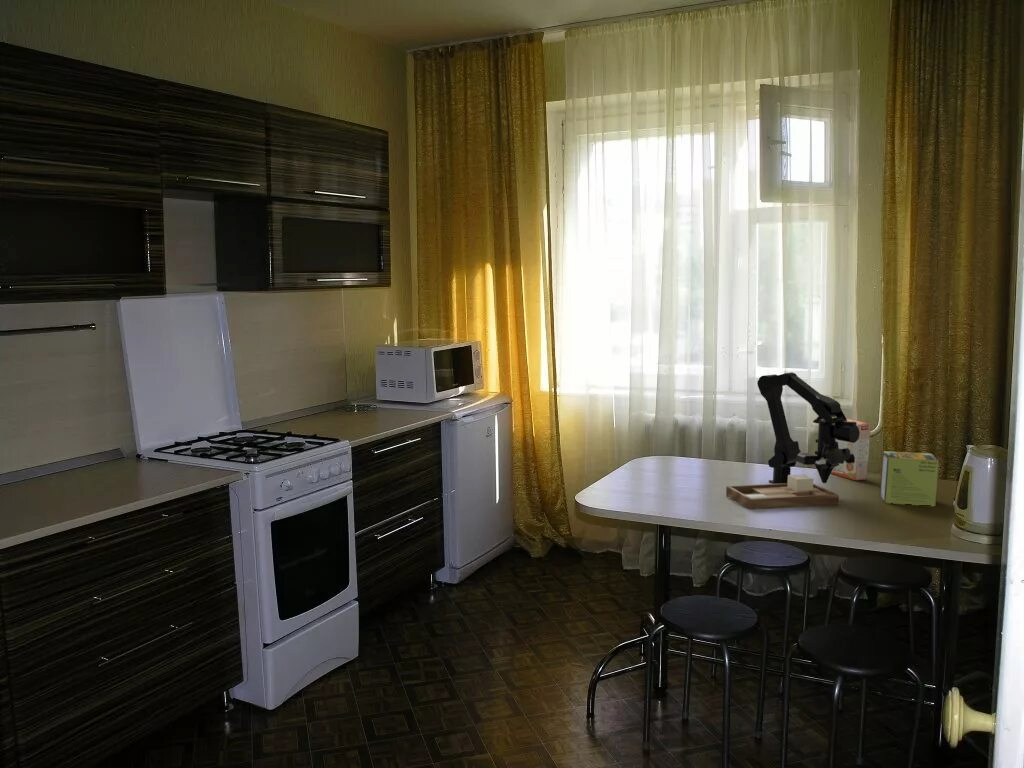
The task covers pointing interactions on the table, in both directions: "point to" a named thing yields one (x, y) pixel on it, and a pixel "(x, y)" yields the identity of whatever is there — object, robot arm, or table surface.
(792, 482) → the cream block
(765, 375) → the robot arm
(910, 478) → the protein box
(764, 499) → the tray
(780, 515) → the table surface
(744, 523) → the table surface
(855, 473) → the cracker box
